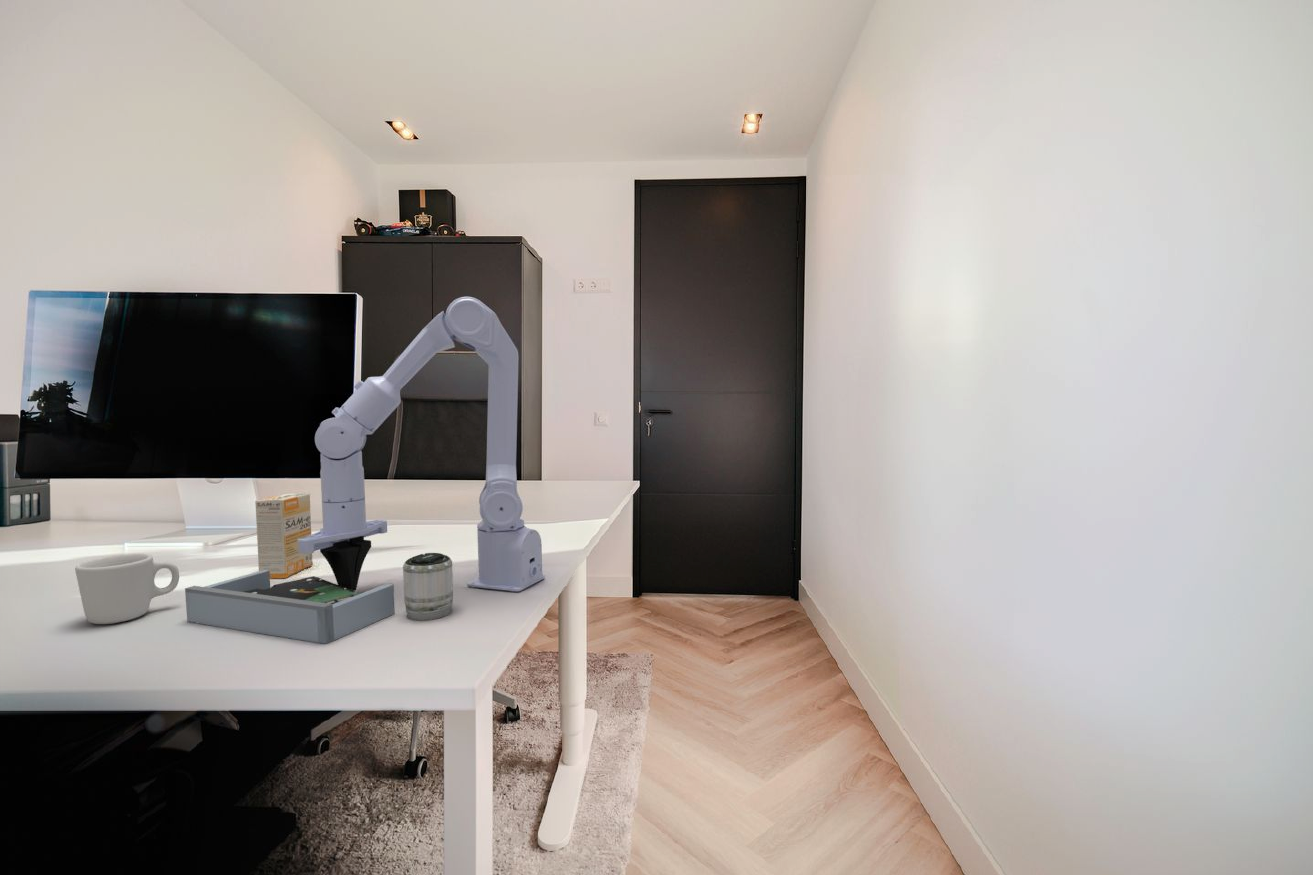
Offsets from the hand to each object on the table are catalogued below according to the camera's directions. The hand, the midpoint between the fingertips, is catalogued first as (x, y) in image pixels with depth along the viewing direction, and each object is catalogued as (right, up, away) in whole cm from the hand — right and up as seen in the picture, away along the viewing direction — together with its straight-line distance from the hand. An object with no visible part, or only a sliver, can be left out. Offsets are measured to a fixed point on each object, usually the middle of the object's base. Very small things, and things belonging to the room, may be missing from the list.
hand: (347, 590), depth 94 cm
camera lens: (+15, -1, -8) cm, 17 cm away
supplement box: (-17, -1, +14) cm, 22 cm away
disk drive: (-4, -2, -5) cm, 7 cm away
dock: (-3, -2, -8) cm, 9 cm away
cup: (-26, -2, -7) cm, 27 cm away
